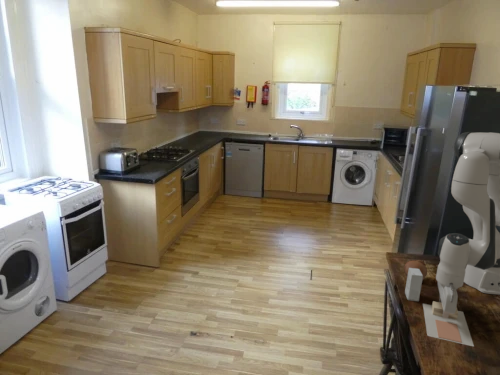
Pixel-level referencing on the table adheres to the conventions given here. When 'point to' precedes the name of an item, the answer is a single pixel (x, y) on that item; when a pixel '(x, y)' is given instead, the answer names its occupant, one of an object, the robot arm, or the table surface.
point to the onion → (418, 265)
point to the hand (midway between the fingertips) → (443, 309)
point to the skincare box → (413, 284)
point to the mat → (447, 327)
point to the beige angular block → (438, 310)
